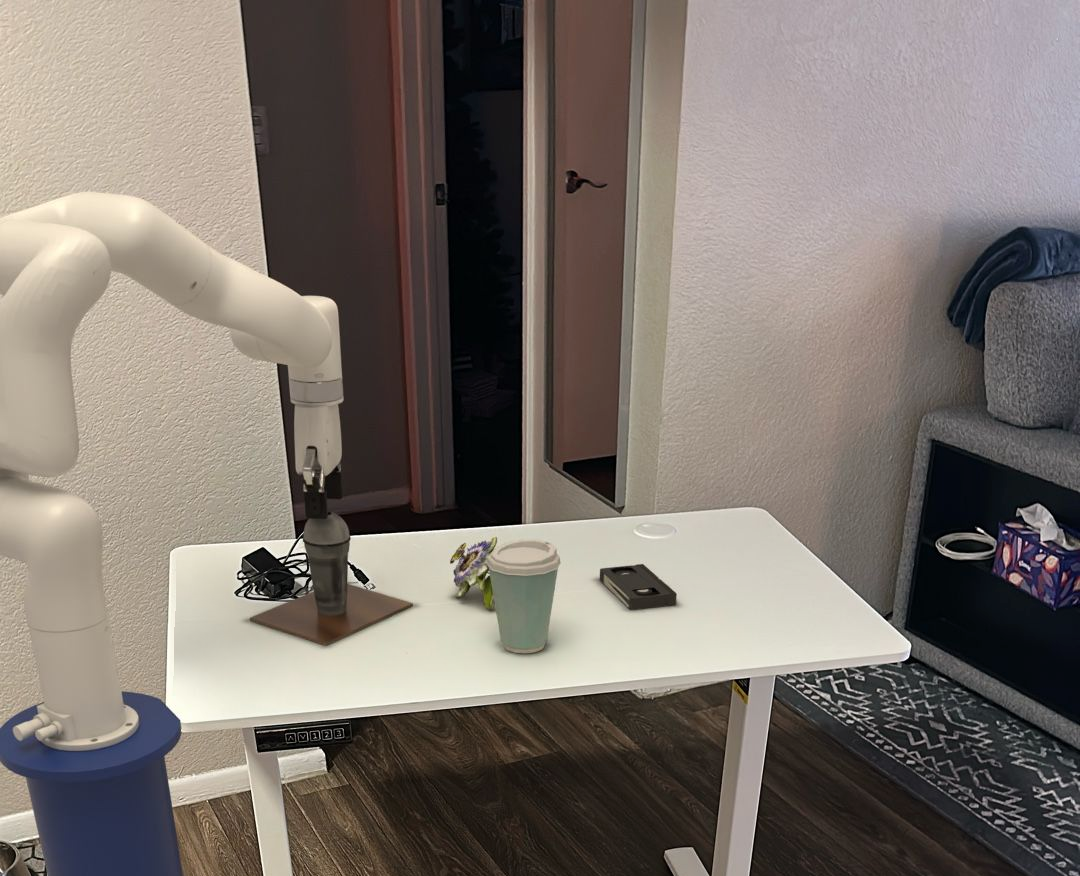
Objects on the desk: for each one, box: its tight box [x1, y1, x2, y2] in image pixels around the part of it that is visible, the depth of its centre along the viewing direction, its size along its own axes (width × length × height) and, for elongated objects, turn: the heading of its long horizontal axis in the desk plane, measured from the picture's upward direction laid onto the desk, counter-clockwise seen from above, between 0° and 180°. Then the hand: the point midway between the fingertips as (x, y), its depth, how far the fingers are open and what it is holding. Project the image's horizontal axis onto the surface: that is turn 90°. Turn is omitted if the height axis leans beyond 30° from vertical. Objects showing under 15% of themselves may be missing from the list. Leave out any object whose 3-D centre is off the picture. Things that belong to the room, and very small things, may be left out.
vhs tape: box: [599, 563, 678, 611], centre depth 210 cm, size 14×8×2 cm, turn 18°
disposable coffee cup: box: [487, 538, 561, 654], centre depth 187 cm, size 11×11×15 cm
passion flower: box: [449, 536, 498, 612], centre depth 205 cm, size 11×11×12 cm
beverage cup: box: [302, 510, 352, 616], centre depth 195 cm, size 7×7×20 cm
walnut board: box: [249, 583, 414, 647], centre depth 200 cm, size 20×16×1 cm
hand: (324, 508), depth 192 cm, fingers open, 9 cm apart
